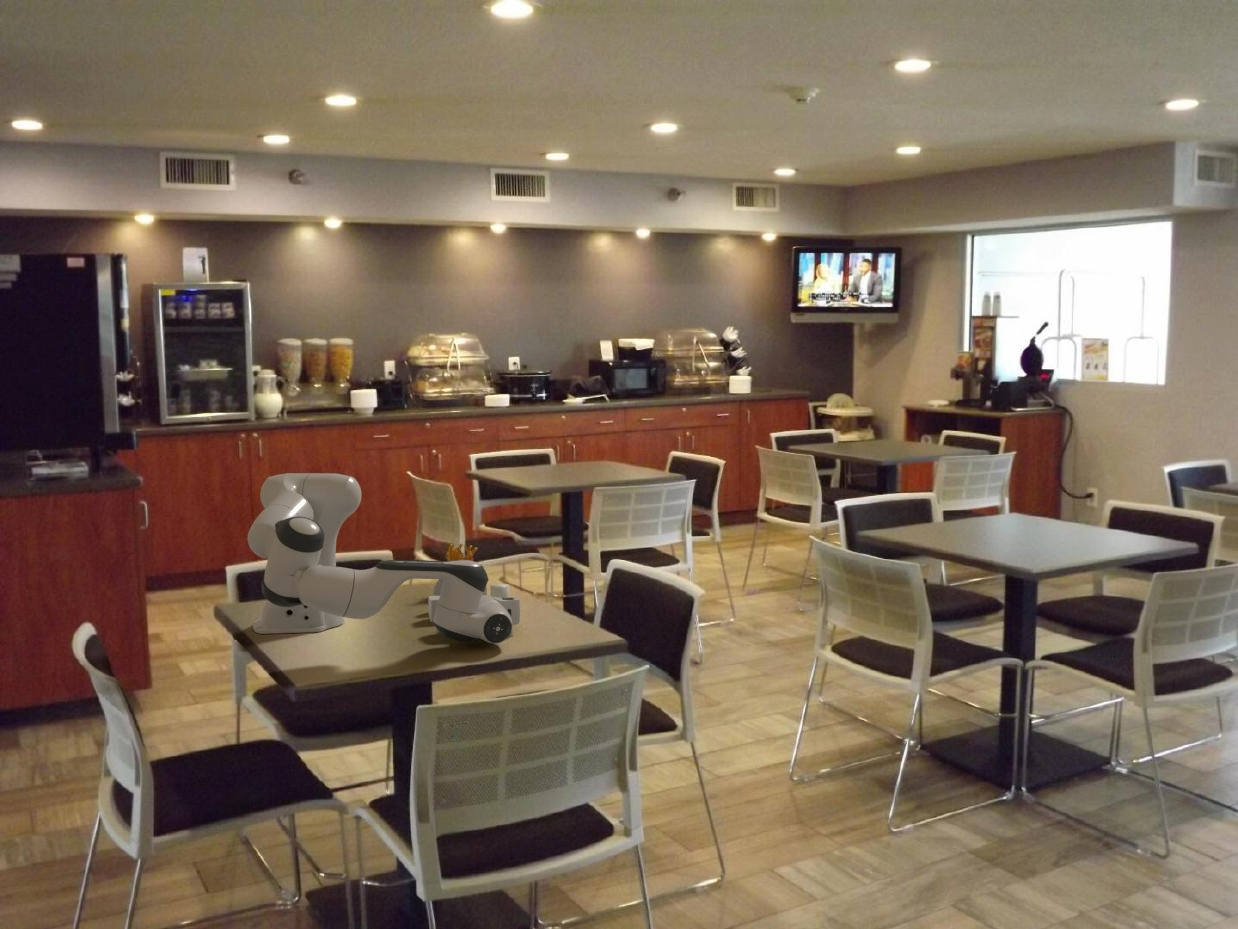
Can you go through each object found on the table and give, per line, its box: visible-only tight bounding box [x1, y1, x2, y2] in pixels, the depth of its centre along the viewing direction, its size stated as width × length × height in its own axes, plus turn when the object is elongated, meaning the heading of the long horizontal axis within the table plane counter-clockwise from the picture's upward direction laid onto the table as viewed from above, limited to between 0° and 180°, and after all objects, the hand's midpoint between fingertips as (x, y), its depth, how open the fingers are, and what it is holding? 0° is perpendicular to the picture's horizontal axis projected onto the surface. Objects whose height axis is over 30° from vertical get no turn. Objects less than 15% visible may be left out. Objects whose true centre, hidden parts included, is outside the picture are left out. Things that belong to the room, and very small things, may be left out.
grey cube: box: [427, 595, 440, 623], centre depth 304 cm, size 5×5×6 cm
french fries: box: [445, 542, 478, 562], centre depth 334 cm, size 9×8×15 cm
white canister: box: [489, 583, 511, 598], centre depth 309 cm, size 5×5×8 cm
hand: (474, 602), depth 299 cm, fingers closed on sage block, 5 cm apart
